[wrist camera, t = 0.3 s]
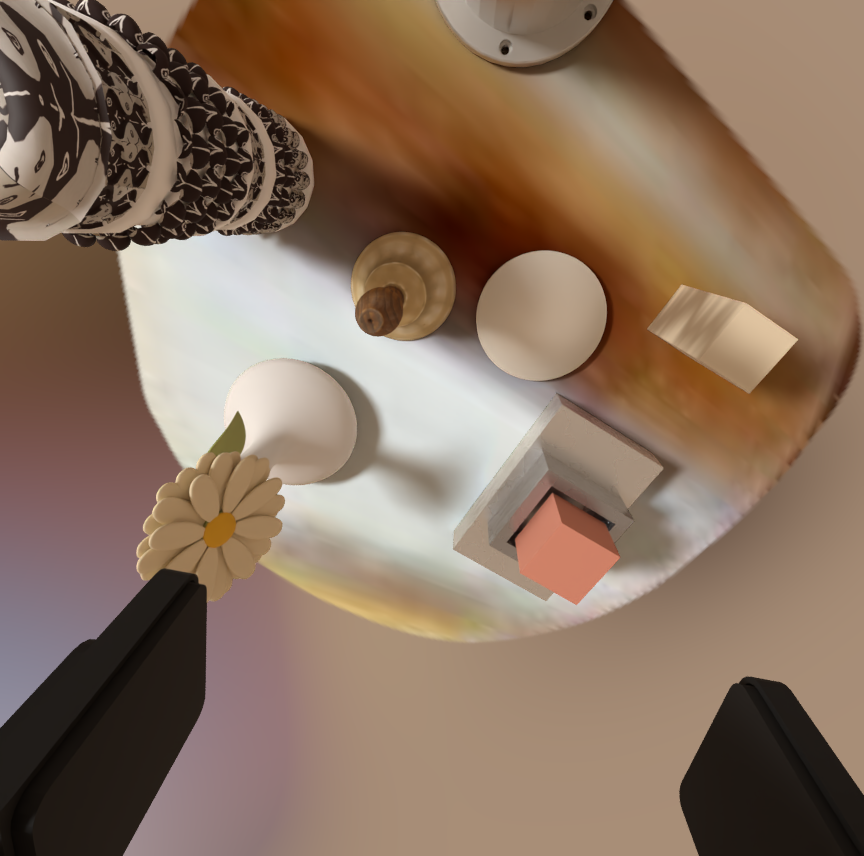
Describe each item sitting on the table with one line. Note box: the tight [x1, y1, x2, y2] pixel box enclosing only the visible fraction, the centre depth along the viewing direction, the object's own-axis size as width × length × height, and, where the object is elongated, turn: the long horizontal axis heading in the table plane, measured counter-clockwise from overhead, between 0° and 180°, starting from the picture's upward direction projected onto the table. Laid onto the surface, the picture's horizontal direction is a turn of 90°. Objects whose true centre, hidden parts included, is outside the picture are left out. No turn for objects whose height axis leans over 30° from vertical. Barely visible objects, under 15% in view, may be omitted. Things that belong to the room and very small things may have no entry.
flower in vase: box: [137, 358, 357, 602], centre depth 34 cm, size 13×11×25 cm
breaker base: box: [453, 393, 664, 601], centre depth 44 cm, size 16×10×6 cm, turn 149°
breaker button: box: [515, 492, 620, 605], centre depth 39 cm, size 5×5×4 cm
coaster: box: [476, 250, 607, 381], centre depth 41 cm, size 10×10×1 cm
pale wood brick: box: [647, 285, 798, 394], centre depth 36 cm, size 4×4×10 cm
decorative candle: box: [0, 0, 314, 251], centre depth 27 cm, size 9×9×25 cm
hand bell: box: [351, 232, 456, 341], centre depth 34 cm, size 8×8×16 cm
